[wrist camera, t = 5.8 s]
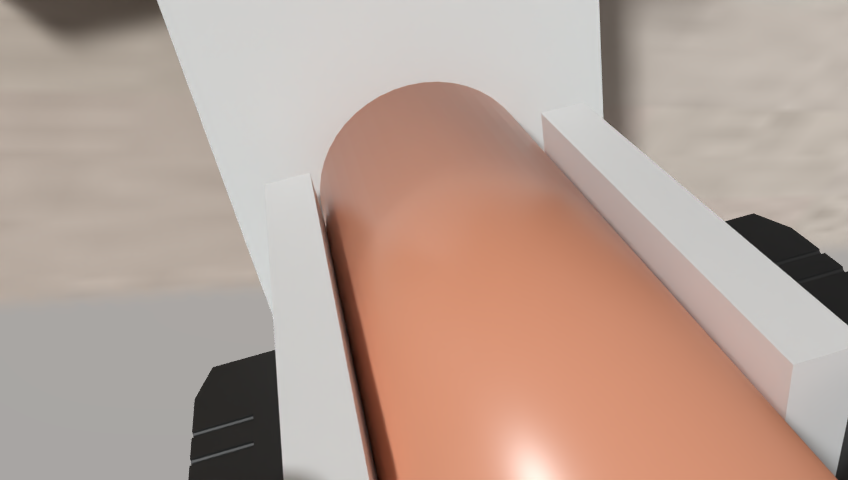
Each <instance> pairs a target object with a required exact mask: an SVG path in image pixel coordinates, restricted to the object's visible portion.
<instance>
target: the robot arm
mask: <svg viewBox="0 0 848 480" xmlns="http://www.w3.org/2000/svg"><path fill="white" fill-rule="evenodd" d="M541 118H542V129H543V140H544V151H545V153H546V154H547V156H548V157H549V158H550V159H551V160H552V161H553V162H554V163H555V165H556V166H557V167H558V168H559V169H560V170H561V171H562V172H563V173H564V175H565V176H566V177H567V178H568V179H569V180H570V181H571V182H572V183H573V185H574V186H575V187H576V188H577V189H578V190H579V191H580V192H581V194H582V195H583V196H584V197H585V198H586V199H587V200H588V201H589V202H590V204H591V205H592V206H593V207H594V208H595V209H596V210H597V211H598V213H599V214H600V215H601V216H602V217H603V218H604V219H605V220H606V221H607V223H608V224H609V225H610V226H611V227H612V228H613V229H614V230H615V231H616V233H617V234H618V235H619V236H620V237H621V238H622V239H623V240H624V242H625V243H626V244H627V245H628V246H629V247H630V248H631V249H632V250H633V252H634V253H635V254H636V255H637V256H638V257H639V258H640V259H641V261H642V262H643V263H644V264H645V265H646V266H647V267H648V268H649V269H650V271H651V272H652V273H653V274H654V275H655V276H656V277H657V278H658V279H659V281H660V282H661V283H662V284H663V285H664V286H665V287H666V288H667V290H668V291H669V292H670V293H671V294H672V295H673V296H674V297H675V298H676V300H677V301H678V302H679V303H680V304H681V305H682V306H683V307H684V309H685V310H686V311H687V312H688V313H689V314H690V315H691V316H692V317H693V319H694V320H695V321H696V322H697V323H698V324H699V325H700V326H701V327H702V329H703V330H704V331H705V332H706V333H707V334H708V335H709V336H710V338H711V339H712V340H713V341H714V342H715V343H716V344H717V345H718V346H719V348H720V349H721V350H722V351H723V352H724V353H725V354H726V355H727V357H728V358H729V359H730V360H731V361H732V362H733V363H734V364H735V365H736V367H737V368H738V369H739V370H740V371H741V372H742V373H743V374H744V375H745V377H746V378H747V379H748V380H749V381H750V382H751V383H752V384H753V386H754V387H755V388H756V389H757V390H758V391H759V392H760V393H761V394H762V396H763V397H764V398H765V399H766V400H767V401H768V402H769V403H770V405H771V406H772V407H773V408H774V409H775V410H776V411H777V412H778V413H779V415H780V416H781V417H782V418H783V419H784V420H785V421H786V422H787V423H788V425H789V426H790V427H791V428H792V429H793V430H794V431H795V432H796V434H797V435H798V436H799V437H800V438H801V439H802V440H803V441H804V442H805V444H806V445H807V446H808V447H809V448H810V449H811V450H812V451H813V452H814V454H815V455H816V456H817V457H818V458H819V459H820V460H821V461H822V463H823V464H824V465H825V466H826V467H827V468H828V469H829V470H830V471H831V473H832V474H833V475H834V476H835V477H836V478H837V479H838V480H848V272H844V270H843V267H842V266H841V265H840V264H839V263H837V262H836V261H835V260H833V259H832V258H831V257H829V256H828V255H827V254H825V253H824V254H821V253H820V251H819V248H817V247H816V246H815V245H813V244H812V243H811V242H809V241H808V240H807V239H805V238H804V237H803V236H801V235H800V234H799V233H797V232H796V231H795V230H793V229H792V228H790V227H788V226H785V225H782V224H780V223H777V222H775V221H772V220H769V219H767V218H764V217H761V216H759V215H756V214H750V215H747V216H743V217H739V218H736V219H732V220H729V221H724V220H722V219H721V218H720V217H719V216H718V215H716V214H715V213H714V212H713V211H712V210H710V209H709V208H708V207H707V206H706V205H705V204H703V203H702V202H701V201H700V200H699V199H697V198H696V197H695V196H694V195H693V194H692V193H690V192H689V191H688V190H687V189H686V188H684V187H683V186H682V185H681V184H680V183H678V182H677V181H676V180H675V179H674V178H673V177H671V176H670V175H669V174H668V173H667V172H665V171H664V170H663V169H662V168H661V167H660V166H658V165H657V164H656V163H655V162H654V161H652V160H651V159H650V158H649V157H648V156H647V155H645V154H644V153H643V152H642V151H641V150H639V149H638V148H637V147H636V146H635V145H633V144H632V143H631V142H630V141H629V140H628V139H626V138H625V137H624V136H623V135H622V134H620V133H619V132H618V131H617V130H616V129H615V128H613V127H612V126H611V125H610V124H609V123H607V122H606V121H605V120H604V119H603V118H601V117H600V116H599V115H598V114H597V113H596V112H594V111H593V110H592V109H591V108H590V107H588V106H587V105H586V104H585V103H584V102H582V103H578V104H574V105H570V106H566V107H563V108H559V109H555V110H551V111H547V112H543V113H541ZM264 185H265V200H266V216H267V231H268V247H269V262H270V277H271V293H272V308H273V323H274V339H275V350H273V351H270V352H266V353H262V354H259V355H256V356H252V357H248V358H245V359H241V360H237V361H234V362H230V363H227V364H223V365H220V366H216V367H213V368H212V370H211V371H210V373H209V375H208V377H207V379H206V380H205V382H204V384H203V386H202V387H201V389H200V391H199V393H198V395H197V396H196V398H195V403H194V417H193V429H192V432H193V436H194V438H192V442H191V455H190V460H191V466H190V468H189V480H378V477H377V472H376V467H375V462H374V458H373V453H372V448H371V443H370V438H369V433H368V429H367V424H366V419H365V414H364V409H363V404H362V399H361V395H360V390H359V385H358V380H357V375H356V370H355V365H354V361H353V356H352V351H351V346H350V341H349V336H348V331H347V327H346V322H345V317H344V312H343V307H342V302H341V298H340V293H339V288H338V283H337V278H336V273H335V268H334V264H333V259H332V254H331V249H330V244H329V239H328V234H327V230H326V226H325V222H324V219H323V215H322V212H321V209H320V205H319V202H318V198H317V195H316V192H315V188H314V185H313V182H312V178H311V175H310V173H307V174H303V175H299V176H295V177H291V178H287V179H283V180H280V181H276V182H272V183H268V184H264Z"/></svg>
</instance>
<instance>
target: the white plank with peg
mask: <svg viewBox="0 0 848 480" xmlns="http://www.w3.org/2000/svg"><path fill="white" fill-rule="evenodd" d="M157 2H158V4H159V7H160V10H161V13H162V15H163V18H164V21H165V24H166V26H167V29H168V32H169V34H170V37H171V40H172V43H173V45H174V48H175V51H176V54H177V56H178V59H179V62H180V65H181V67H182V70H183V73H184V75H185V78H186V81H187V84H188V86H189V89H190V92H191V95H192V97H193V100H194V103H195V105H196V108H197V111H198V114H199V116H200V119H201V122H202V125H203V127H204V130H205V133H206V135H207V138H208V141H209V144H210V146H211V149H212V152H213V155H214V157H215V160H216V163H217V165H218V168H219V171H220V174H221V176H222V179H223V182H224V185H225V187H226V190H227V193H228V195H229V198H230V201H231V204H232V206H233V209H234V212H235V215H236V217H237V220H238V223H239V225H240V228H241V231H242V234H243V236H244V239H245V242H246V245H247V247H248V250H249V253H250V255H251V258H252V261H253V264H254V266H255V269H256V272H257V275H258V277H259V280H260V283H261V285H262V288H263V291H264V294H265V296H266V299H267V302H268V304H269V307H270V310H271V313H272V315H273V308H272V293H271V277H270V262H269V247H268V231H267V216H266V200H265V185H264V184H268V183H272V182H276V181H280V180H283V179H287V178H291V177H295V176H299V175H303V174H307V173H310V175H311V178H312V182H313V185H314V188H315V192H316V195H317V198H318V202H319V205H320V209H321V212H322V215H323V219H324V222H325V226H326V230H327V234H328V239H329V244H330V249H331V254H332V259H333V264H334V268H335V273H336V278H337V283H338V288H339V293H340V298H341V302H342V307H343V312H344V317H345V322H346V327H347V331H348V336H349V341H350V346H351V351H352V356H353V361H354V365H355V370H356V375H357V380H358V385H359V390H360V395H361V399H362V404H363V409H364V414H365V419H366V424H367V429H368V433H369V438H370V443H371V448H372V453H373V458H374V462H375V467H376V472H377V477H378V480H838V479H837V478H836V477H835V476H834V475H833V474H832V473H831V471H830V470H829V469H828V468H827V467H826V466H825V465H824V464H823V463H822V461H821V460H820V459H819V458H818V457H817V456H816V455H815V454H814V452H813V451H812V450H811V449H810V448H809V447H808V446H807V445H806V444H805V442H804V441H803V440H802V439H801V438H800V437H799V436H798V435H797V434H796V432H795V431H794V430H793V429H792V428H791V427H790V426H789V425H788V423H787V422H786V421H785V420H784V419H783V418H782V417H781V416H780V415H779V413H778V412H777V411H776V410H775V409H774V408H773V407H772V406H771V405H770V403H769V402H768V401H767V400H766V399H765V398H764V397H763V396H762V394H761V393H760V392H759V391H758V390H757V389H756V388H755V387H754V386H753V384H752V383H751V382H750V381H749V380H748V379H747V378H746V377H745V375H744V374H743V373H742V372H741V371H740V370H739V369H738V368H737V367H736V365H735V364H734V363H733V362H732V361H731V360H730V359H729V358H728V357H727V355H726V354H725V353H724V352H723V351H722V350H721V349H720V348H719V346H718V345H717V344H716V343H715V342H714V341H713V340H712V339H711V338H710V336H709V335H708V334H707V333H706V332H705V331H704V330H703V329H702V327H701V326H700V325H699V324H698V323H697V322H696V321H695V320H694V319H693V317H692V316H691V315H690V314H689V313H688V312H687V311H686V310H685V309H684V307H683V306H682V305H681V304H680V303H679V302H678V301H677V300H676V298H675V297H674V296H673V295H672V294H671V293H670V292H669V291H668V290H667V288H666V287H665V286H664V285H663V284H662V283H661V282H660V281H659V279H658V278H657V277H656V276H655V275H654V274H653V273H652V272H651V271H650V269H649V268H648V267H647V266H646V265H645V264H644V263H643V262H642V261H641V259H640V258H639V257H638V256H637V255H636V254H635V253H634V252H633V250H632V249H631V248H630V247H629V246H628V245H627V244H626V243H625V242H624V240H623V239H622V238H621V237H620V236H619V235H618V234H617V233H616V231H615V230H614V229H613V228H612V227H611V226H610V225H609V224H608V223H607V221H606V220H605V219H604V218H603V217H602V216H601V215H600V214H599V213H598V211H597V210H596V209H595V208H594V207H593V206H592V205H591V204H590V202H589V201H588V200H587V199H586V198H585V197H584V196H583V195H582V194H581V192H580V191H579V190H578V189H577V188H576V187H575V186H574V185H573V183H572V182H571V181H570V180H569V179H568V178H567V177H566V176H565V175H564V173H563V172H562V171H561V170H560V169H559V168H558V167H557V166H556V165H555V163H554V162H553V161H552V160H551V159H550V158H549V157H548V156H547V154H546V153H545V151H544V140H543V129H542V118H541V113H543V112H547V111H551V110H555V109H559V108H563V107H566V106H570V105H574V104H578V103H582V102H584V103H585V104H586V105H587V106H588V107H590V108H591V109H592V110H593V111H594V112H596V113H597V114H598V115H599V116H600V117H601V118H603V94H602V67H601V39H600V12H599V0H157Z"/></svg>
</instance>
